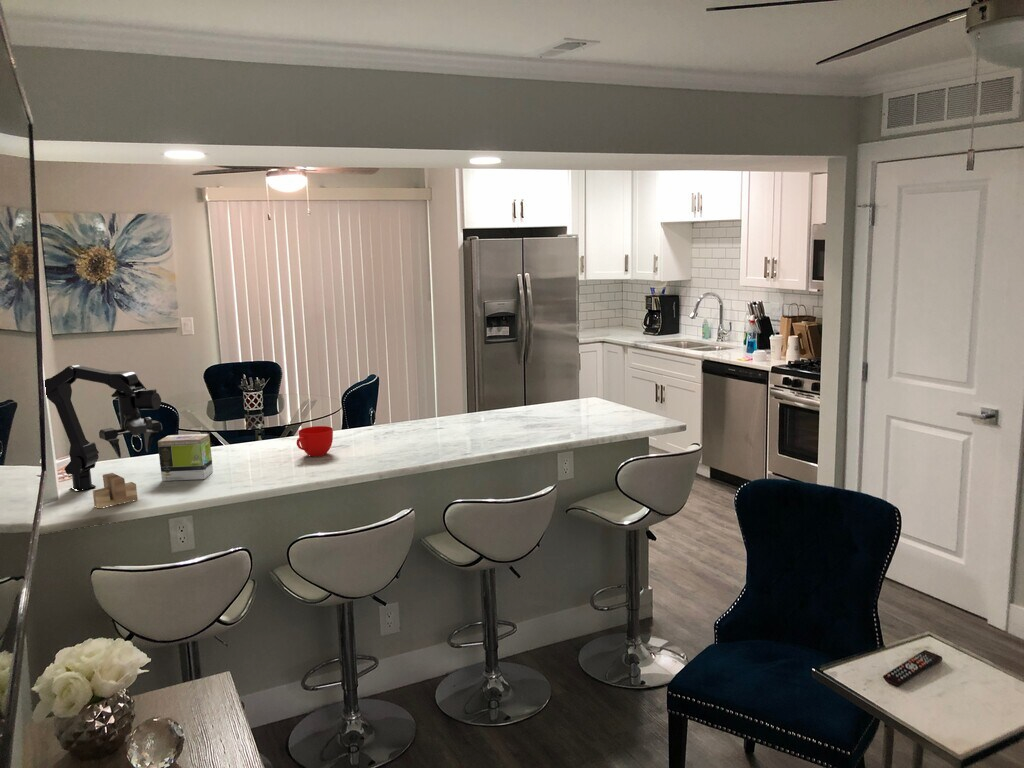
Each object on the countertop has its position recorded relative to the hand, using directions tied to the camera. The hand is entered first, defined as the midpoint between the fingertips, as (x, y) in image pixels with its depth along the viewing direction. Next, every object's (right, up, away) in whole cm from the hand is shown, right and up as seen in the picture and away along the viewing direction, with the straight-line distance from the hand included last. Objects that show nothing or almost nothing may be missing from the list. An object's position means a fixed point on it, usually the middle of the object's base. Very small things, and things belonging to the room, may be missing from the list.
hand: (133, 454), depth 271 cm
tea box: (+12, -9, +16) cm, 22 cm away
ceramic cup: (+51, -4, +40) cm, 65 cm away
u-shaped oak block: (+1, -14, -13) cm, 20 cm away
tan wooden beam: (+1, -13, -14) cm, 18 cm away
